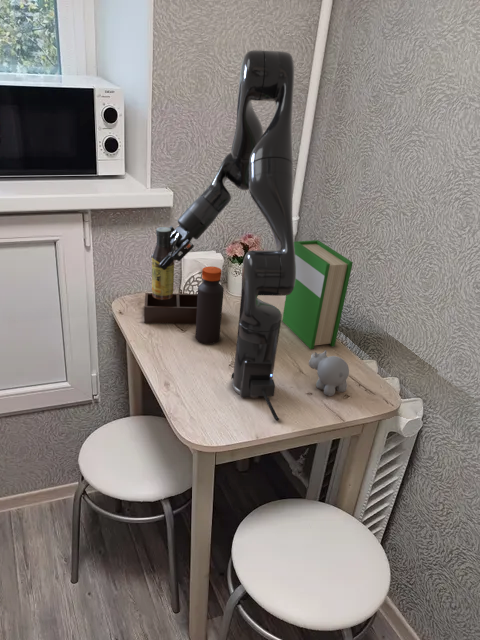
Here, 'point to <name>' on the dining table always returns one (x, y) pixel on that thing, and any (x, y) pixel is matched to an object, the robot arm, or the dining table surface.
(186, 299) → the divided storage box
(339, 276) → the hardback book
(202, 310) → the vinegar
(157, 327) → the dining table surface
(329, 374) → the round bodied animal figurine
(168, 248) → the sauce bottle
